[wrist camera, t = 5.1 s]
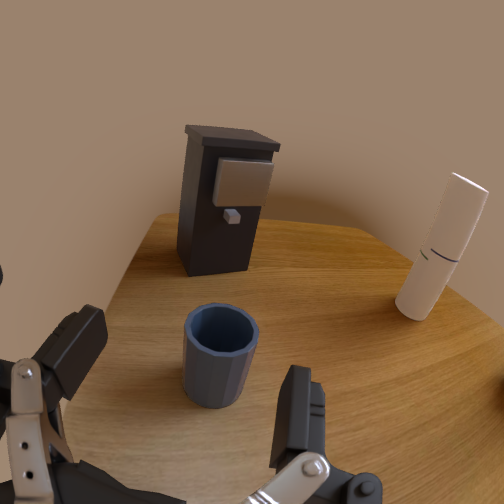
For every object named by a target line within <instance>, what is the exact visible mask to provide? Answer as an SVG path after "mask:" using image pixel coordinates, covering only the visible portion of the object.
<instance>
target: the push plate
mask: <svg viewBox="0 0 504 504" xmlns="http://www.w3.org/2000/svg"><path fill="white" fill-rule="evenodd" d="M273 168H274V164H273V163H272V162H270V161H269V160H259V159H246V158H230V157H219V160H218V166H217V172H216V178H215V185H214V191H213V198H212V202H213V204H214V205H215V206H216V207H220V206H265V203H266V199H267V194H268V190H269V185H270V181H271V176H272V172H273Z"/></svg>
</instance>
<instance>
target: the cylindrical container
mask: <svg viewBox="0 0 504 504" xmlns="http://www.w3.org/2000/svg"><path fill="white" fill-rule="evenodd" d="M488 194H489V192H488V191H486V190H485V189H483V188H482V187H480V186H479V185H477V184H475V183H473V182H471V181H470V180H468V179H466V178H464V177H462V176H460V175H458V174H455V173H451V176H450V179H449V182H448V185H447V187H446V190H445V193H444V195H443V198H442V200H441V203H440V206H439V208H438V211H437V213H436V216H435V218H434V220H433V223H432V225H431V228H430V230H429V232H428V234H427V237H426V239H425V241H424V243H423V245H422V248H421V250H420V252H419V254H418V256H417V258H416V260H415V262H414V264H413V266H412V268H411V270H410V272H409V274H408V276H407V278H406V280H405V282H404V284H403V286H402V288H401V290H400V291H399V293H398V295H397V297H396V299H395V304H396V306H397V308H398V309H399V311H400V312H401V313H403V314H404V315H405V316H407V317H408V318H410V319H413V320H417V321H422V320H425V319H426V317H427V316H428V314H429V312H430V311H431V309H432V308H433V306H434V304H435V303H436V301H437V299H438V298H439V296H440V294H441V293H442V291H443V289H444V287H445V286H446V284H447V282H448V280H449V278H450V277H451V275H452V273H453V271H454V269H455V267H456V265H457V263H458V262H459V260H460V258H461V256H462V253H463V252H464V250H465V248H466V245H467V243H468V241H469V239H470V237H471V235H472V232H473V230H474V228H475V226H476V224H477V221H478V219H479V217H480V214H481V212H482V209H483V207H484V204H485V202H486V199H487V197H488Z"/></svg>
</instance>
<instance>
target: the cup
mask: <svg viewBox="0 0 504 504" xmlns="http://www.w3.org/2000/svg"><path fill="white" fill-rule="evenodd" d="M258 337H259V328H258V326H257V324H256V322H255V320H254V319H253V318H252V317H251V316H250V315H249V314H248V313H246V312H245V311H244V310H242V309H240V308H237V307H235V306H232V305H230V304H221V303H211V304H206V305H202V306H199V307H198V308H196V309H195V310H193V311H192V312H191V313H189V315H188V317H187V319H186V322H185V324H184V340H183V363H182V381H183V388H184V391H185V393H186V394H187V396H188V397H189V398H190V399H191V400H192V401H194V402H195V403H197V404H198V405H201V406H203V407H207V408H223V407H226V406H229V405H230V404H232V403H234V402H235V401H236V400H237V399H238V397H239V396H240V394H241V392H242V389H243V386H244V383H245V380H246V377H247V374H248V371H249V368H250V365H251V362H252V358H253V355H254V352H255V349H256V346H257V343H258Z"/></svg>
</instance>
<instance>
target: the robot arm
mask: <svg viewBox="0 0 504 504" xmlns="http://www.w3.org/2000/svg"><path fill="white" fill-rule="evenodd" d="M107 339H108V333H107V327H106V322H105V317H104V312H103V310H101V309H99V308H96V307H94V306H91V305H88V304H87V305H85V306H84V307H83V308H82V309H81V310H80V311H79V313H76V312H73V313H71V314H70V315H68V316H66V317H65V318H64V319H63V320H62V321H61V323H60V324H59V325H58V327H56V328H55V330H54V331H53V333H52V334H51V335H50V336H49V337H48V338H47V339H46V341H45V342H44V343H43V344H42V346H41V347H40V348H39V350H38V351H37V352H36V353H35V355H34V356H33V357H32V358H31V359H29V358H24V359H21V360H19V361H18V362H16V363H14V362H10V361H6V360H2V359H0V439H1V437H2V435H3V434H4V432H5V430H6V433H7V444H8V453H9V461H10V468H11V474H12V480H9V481H6V482H3V483H0V504H186V501H184V500H180V499H177V498H173V497H170V496H167V495H164V494H161V493H157V492H149V491H141V490H135V489H129V488H127V487H125V486H124V485H122V484H121V483H120V482H118V481H117V480H115V479H114V478H113V477H111V476H110V475H109V474H107V473H106V472H105V471H103V470H101V469H99V468H97V467H95V466H93V465H91V464H89V463H87V462H85V461H83V460H80V462H79V463H74V461H73V457H72V454H71V451H70V449H69V447H68V445H67V442H66V438H65V433H64V427H63V421H62V415H61V408H60V403H59V401H60V399H61V398H62V397H64V398H66V399H67V400H69V401H71V399H72V397H73V396H74V394H75V393H76V391H77V389H78V388H79V386H80V384H81V383H82V381H83V380H84V378H85V376H86V375H87V373H88V372H89V370H90V369H91V367H92V365H93V364H94V362H95V361H96V359H97V358H98V356H99V355H100V353H101V352H102V350H103V349H104V347H105V345H106V343H107ZM269 468H275V469H276V475H275V476H274V477H273V478H272V479H270V480H269V481H268V482H267V483H266V484H264V485H263V486H262V487H261V488H259V489H258V490H257V491H256V492H254V493H253V494H251V495H250V496H249V497H247V498H246V499H245V500H243V501H242V502H241V503H239V504H382V492H383V488H382V483H381V481H380V479H379V478H378V477H377V476H375V475H374V474H371V473H360V474H357V475H353V474H350V473H347V472H345V471H342V470H339V469H337V468H335V467H334V466H332V465H331V464H330V463H329V461H328V460H327V458H326V455H325V393H324V391H323V389H322V386H321V384H320V383H316V382H311V369H310V368H308V367H302V366H297V365H291V367H290V369H289V371H288V373H287V375H286V377H285V379H284V381H283V383H282V386H281V389H280V392H279V397H278V404H277V412H276V420H275V428H274V436H273V443H272V450H271V457H270V464H269Z"/></svg>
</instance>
